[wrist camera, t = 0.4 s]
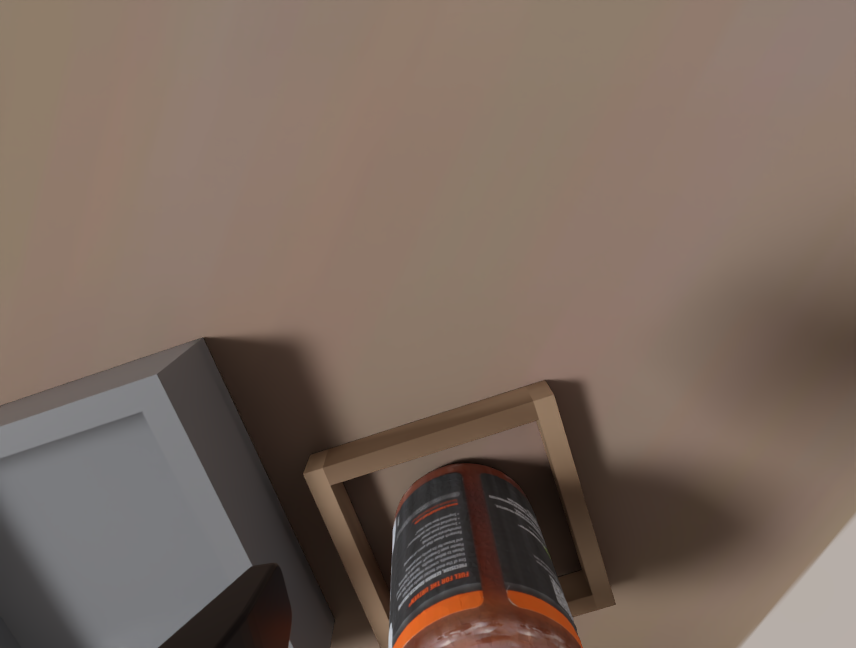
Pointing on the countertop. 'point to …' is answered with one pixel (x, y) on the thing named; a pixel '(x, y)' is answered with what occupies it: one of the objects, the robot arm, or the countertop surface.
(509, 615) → the supplement bottle
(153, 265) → the countertop surface
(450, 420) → the tan wooden square frame
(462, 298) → the countertop surface
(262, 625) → the robot arm
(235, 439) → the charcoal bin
